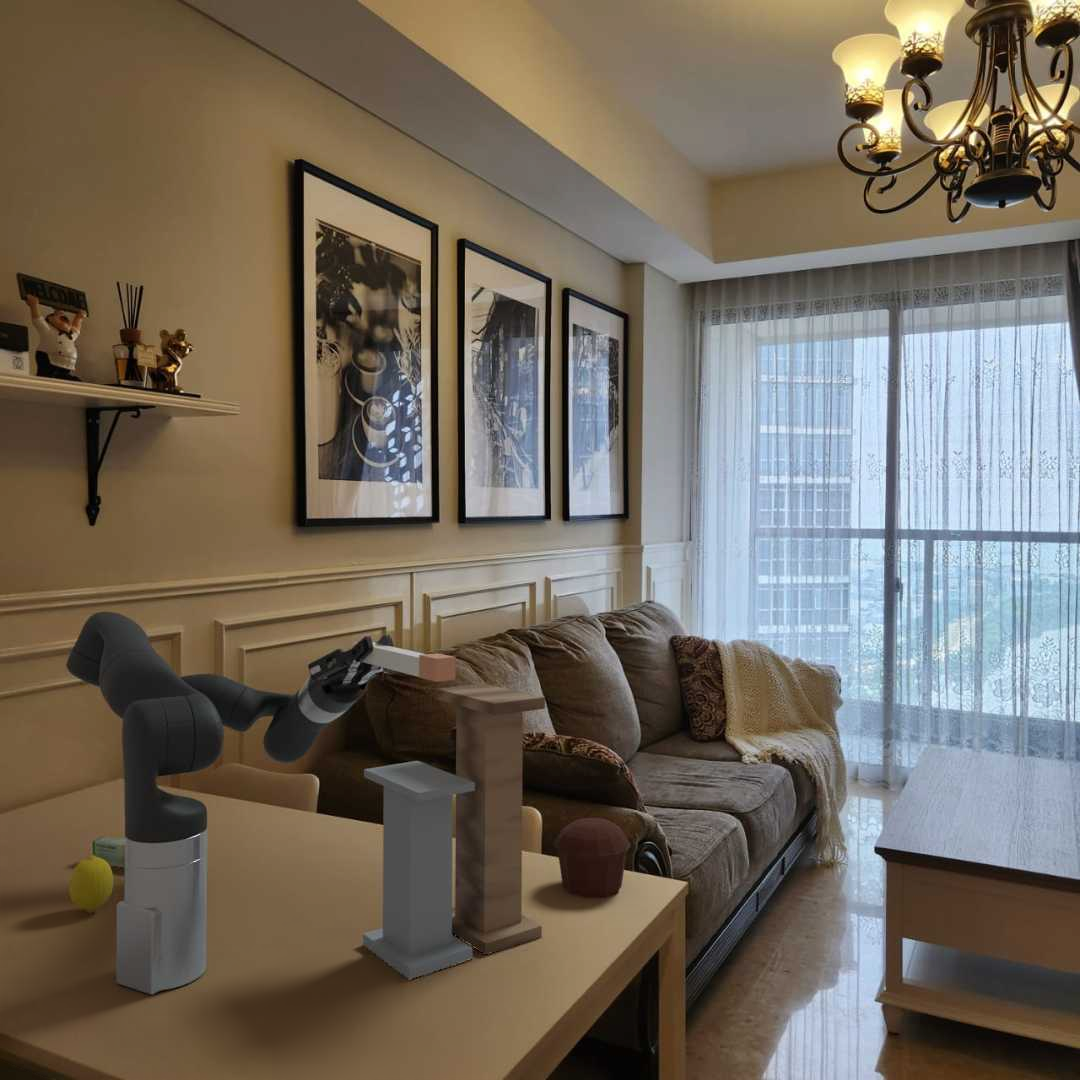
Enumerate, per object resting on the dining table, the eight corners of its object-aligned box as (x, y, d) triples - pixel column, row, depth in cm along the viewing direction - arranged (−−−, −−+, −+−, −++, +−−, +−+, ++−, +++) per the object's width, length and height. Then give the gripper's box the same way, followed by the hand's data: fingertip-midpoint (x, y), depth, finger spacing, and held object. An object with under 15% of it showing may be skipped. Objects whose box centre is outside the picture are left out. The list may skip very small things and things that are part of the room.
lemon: (120, 905, 132) (121, 849, 132) (98, 921, 127) (99, 863, 127) (84, 903, 133) (84, 848, 133) (60, 919, 127) (60, 861, 127)
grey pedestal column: (359, 942, 121) (360, 769, 121) (419, 925, 126) (420, 760, 126) (413, 983, 110) (415, 793, 110) (476, 962, 115) (478, 781, 115)
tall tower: (432, 921, 128) (433, 689, 127) (485, 905, 133) (487, 683, 133) (490, 958, 116) (491, 703, 116) (546, 939, 122) (548, 696, 122)
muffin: (611, 869, 148) (611, 807, 148) (643, 894, 138) (644, 827, 138) (542, 879, 144) (542, 815, 144) (570, 906, 133) (571, 836, 133)
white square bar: (352, 660, 129) (353, 640, 129) (370, 658, 131) (371, 638, 131) (435, 681, 112) (436, 658, 112) (455, 679, 114) (455, 657, 114)
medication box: (91, 865, 149) (91, 840, 149) (104, 859, 152) (103, 835, 152) (152, 874, 145) (152, 848, 145) (164, 867, 148) (164, 843, 148)
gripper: (281, 670, 135) (326, 619, 123) (367, 663, 144) (417, 614, 132) (291, 719, 132) (338, 671, 120) (378, 708, 141) (430, 663, 129)
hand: (379, 642), depth 126 cm, fingers closed on white square bar, 2 cm apart
